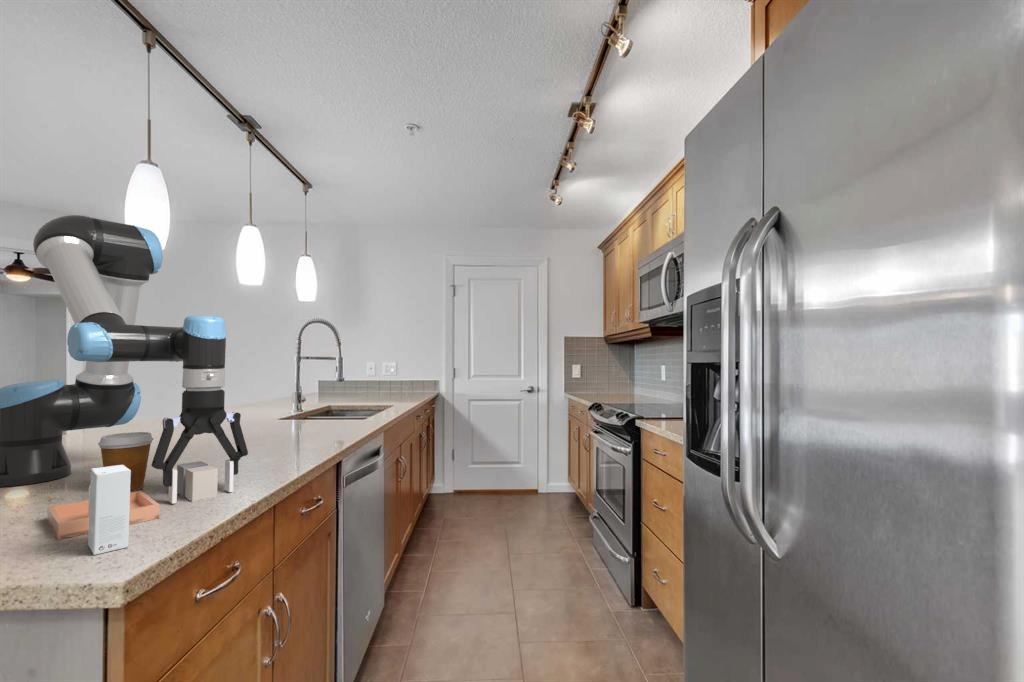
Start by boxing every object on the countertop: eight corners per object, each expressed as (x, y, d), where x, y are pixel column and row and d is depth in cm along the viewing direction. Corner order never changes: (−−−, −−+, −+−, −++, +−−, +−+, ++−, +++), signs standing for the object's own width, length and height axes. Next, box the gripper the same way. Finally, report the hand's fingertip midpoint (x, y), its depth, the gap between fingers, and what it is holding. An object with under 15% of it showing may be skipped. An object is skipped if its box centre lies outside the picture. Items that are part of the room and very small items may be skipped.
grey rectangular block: (176, 492, 102) (177, 464, 103) (200, 488, 106) (200, 461, 106) (183, 496, 99) (183, 467, 100) (207, 491, 103) (207, 464, 103)
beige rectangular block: (185, 497, 98) (185, 469, 99) (209, 493, 102) (210, 465, 102) (192, 502, 96) (193, 472, 96) (217, 497, 99) (217, 468, 99)
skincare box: (129, 547, 73) (131, 469, 73) (93, 556, 70) (95, 474, 70) (122, 537, 77) (124, 463, 77) (87, 545, 74) (89, 468, 74)
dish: (47, 521, 84) (47, 506, 84) (140, 503, 95) (140, 490, 95) (58, 540, 76) (58, 524, 76) (159, 518, 86) (159, 504, 86)
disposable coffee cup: (128, 496, 99) (130, 439, 100) (84, 496, 99) (85, 438, 100) (162, 484, 109) (164, 431, 109) (122, 483, 109) (123, 431, 109)
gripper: (143, 393, 88) (140, 513, 88) (266, 387, 106) (264, 487, 105) (133, 391, 93) (130, 505, 93) (252, 386, 110) (251, 482, 110)
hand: (201, 496), depth 99 cm, fingers open, 10 cm apart
